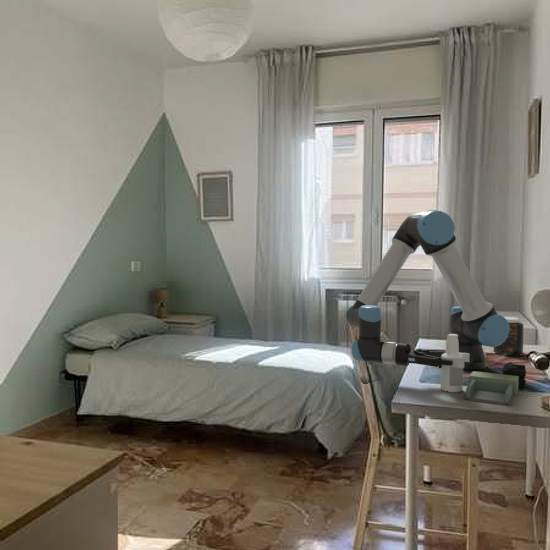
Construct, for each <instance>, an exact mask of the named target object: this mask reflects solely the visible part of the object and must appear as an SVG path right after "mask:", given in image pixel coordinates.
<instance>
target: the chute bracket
mask: <svg viewBox="0 0 550 550" xmlns="http://www.w3.org/2000/svg"><path fill="white" fill-rule="evenodd" d="M468 381H469V382H468V383H469V384H468V385H467V387H466V388H465V395H464V397H463V400H464V399H466V400H465V401H471V400H472V401H473V402H480V403H487V404H495V405H502V406H512V403H513V400H514V398H515V396H517V394H518V392H519V389H518V383H519V376H513V375H504V374H502V373H493V372H485V371H476V370H475V371H472V372H471V373H470V375H469V380H468ZM472 401H471V402H472Z"/></svg>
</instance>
